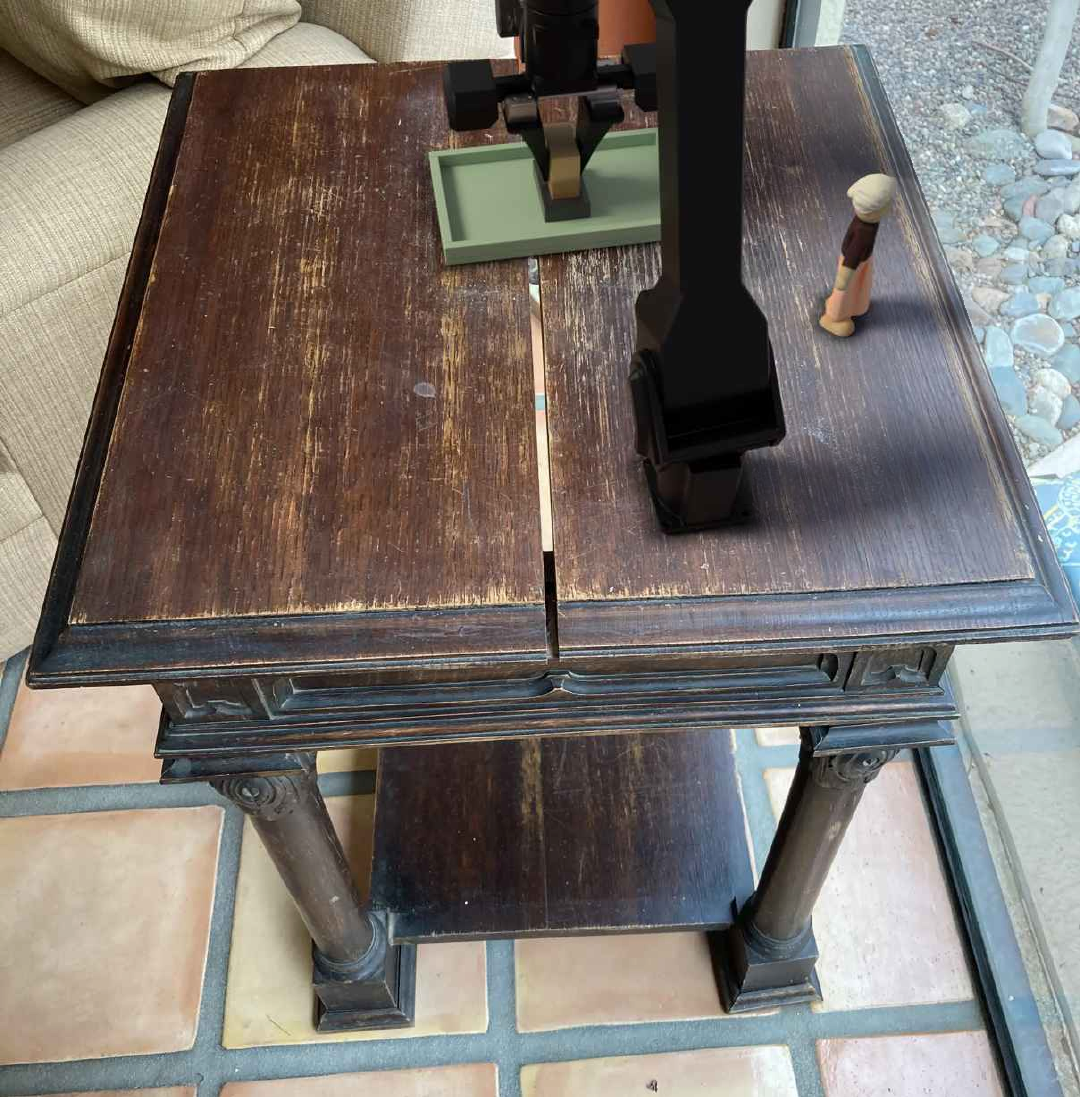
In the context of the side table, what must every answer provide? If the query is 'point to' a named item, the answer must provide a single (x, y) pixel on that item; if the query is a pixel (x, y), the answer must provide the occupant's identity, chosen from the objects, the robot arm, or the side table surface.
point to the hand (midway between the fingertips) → (561, 177)
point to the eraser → (562, 177)
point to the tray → (514, 207)
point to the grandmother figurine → (858, 253)
